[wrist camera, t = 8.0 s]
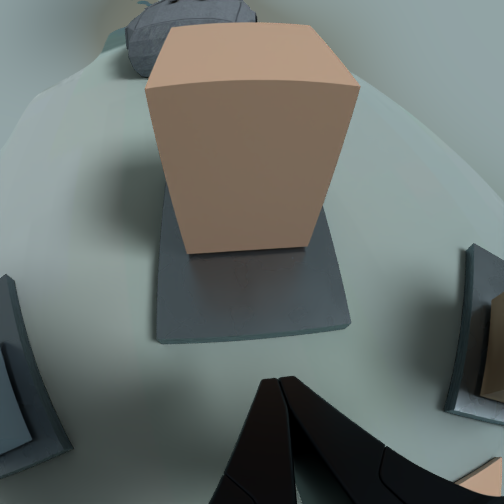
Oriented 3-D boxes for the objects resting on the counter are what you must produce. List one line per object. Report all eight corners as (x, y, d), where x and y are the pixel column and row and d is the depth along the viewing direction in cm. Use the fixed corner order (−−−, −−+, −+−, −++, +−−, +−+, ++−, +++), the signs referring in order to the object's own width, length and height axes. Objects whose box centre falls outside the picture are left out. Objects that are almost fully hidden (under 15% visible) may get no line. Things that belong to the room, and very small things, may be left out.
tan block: (307, 246, 15) (360, 86, 7) (187, 254, 15) (144, 88, 7) (288, 162, 18) (310, 25, 10) (190, 167, 18) (171, 27, 10)
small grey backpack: (258, 79, 26) (253, 25, 36) (263, 4, 19) (255, -21, 29) (114, 89, 26) (156, 31, 36) (98, 22, 18) (151, -13, 28)
